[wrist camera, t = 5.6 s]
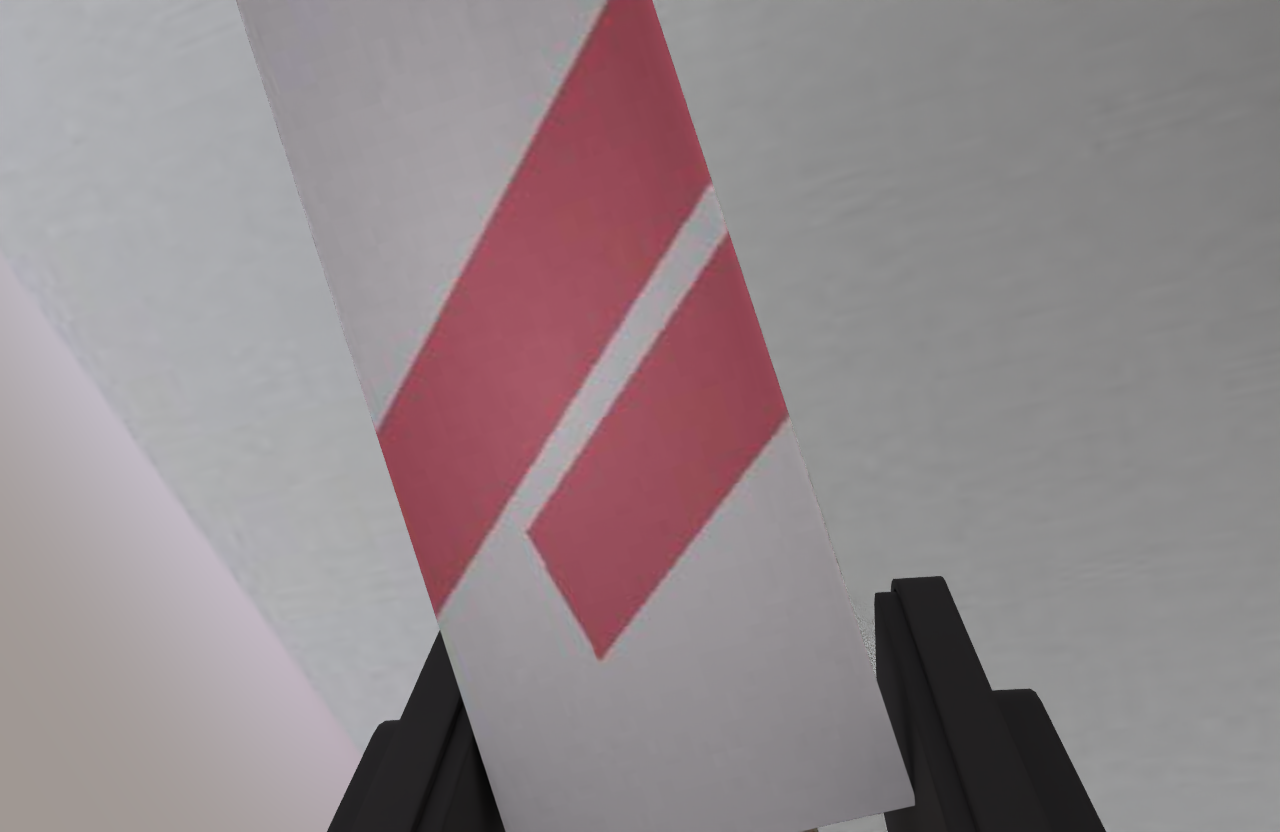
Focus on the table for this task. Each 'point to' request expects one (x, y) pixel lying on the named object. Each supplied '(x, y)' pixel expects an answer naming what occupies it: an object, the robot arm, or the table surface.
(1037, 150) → the table surface
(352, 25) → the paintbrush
